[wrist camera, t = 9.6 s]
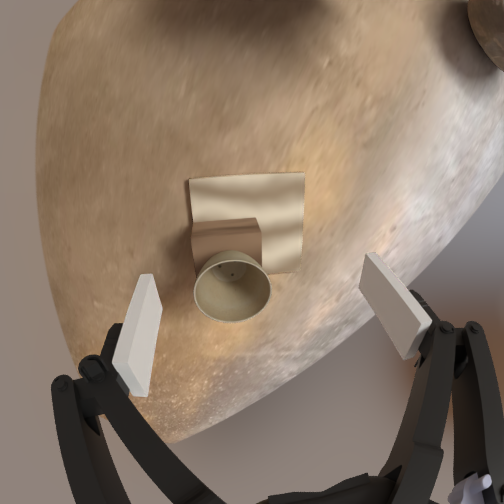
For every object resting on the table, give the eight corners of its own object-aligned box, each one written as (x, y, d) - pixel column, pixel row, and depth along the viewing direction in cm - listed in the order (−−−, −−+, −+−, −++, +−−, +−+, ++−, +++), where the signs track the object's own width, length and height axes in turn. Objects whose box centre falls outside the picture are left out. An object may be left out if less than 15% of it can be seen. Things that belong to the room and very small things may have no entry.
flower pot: (219, 302, 44) (221, 333, 38) (182, 257, 40) (177, 285, 33) (274, 273, 43) (284, 301, 37) (241, 222, 38) (247, 245, 32)
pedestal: (193, 222, 44) (190, 238, 38) (255, 217, 45) (261, 232, 39) (200, 275, 48) (199, 295, 43) (257, 270, 49) (262, 290, 44)
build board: (189, 178, 41) (188, 179, 40) (303, 171, 43) (305, 173, 42) (201, 277, 50) (201, 280, 49) (298, 268, 51) (300, 270, 51)
